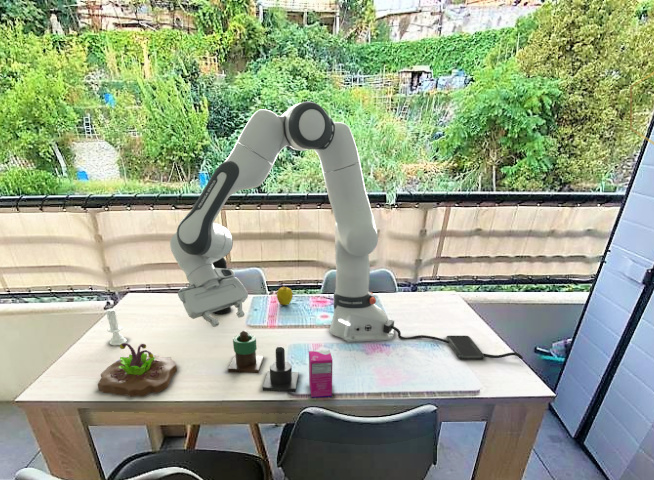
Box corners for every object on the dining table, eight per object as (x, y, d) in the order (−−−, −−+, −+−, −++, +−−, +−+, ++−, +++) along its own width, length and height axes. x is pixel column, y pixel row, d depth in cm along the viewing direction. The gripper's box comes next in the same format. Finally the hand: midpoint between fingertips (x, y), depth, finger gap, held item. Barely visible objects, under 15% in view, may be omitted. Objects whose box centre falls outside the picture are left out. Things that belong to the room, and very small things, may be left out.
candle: (120, 346, 136) (112, 311, 130) (106, 344, 137) (97, 310, 131) (130, 339, 141) (122, 305, 135) (115, 338, 142) (107, 304, 136)
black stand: (298, 375, 120) (298, 340, 114) (295, 392, 113) (294, 355, 107) (268, 374, 121) (266, 338, 115) (262, 391, 113) (260, 353, 107)
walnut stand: (263, 359, 129) (262, 325, 123) (258, 373, 121) (256, 338, 115) (235, 357, 130) (232, 324, 124) (228, 372, 122) (224, 336, 116)
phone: (459, 356, 128) (445, 335, 141) (459, 359, 129) (445, 338, 142) (485, 356, 128) (468, 335, 141) (484, 359, 129) (468, 338, 142)
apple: (286, 308, 165) (286, 289, 161) (274, 305, 168) (273, 286, 164) (296, 304, 170) (295, 285, 166) (283, 301, 173) (282, 282, 169)
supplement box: (308, 387, 115) (308, 350, 109) (329, 386, 115) (330, 349, 110) (310, 398, 110) (310, 360, 104) (332, 397, 110) (334, 359, 105)
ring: (246, 342, 127) (245, 331, 125) (260, 349, 123) (260, 338, 121) (229, 349, 123) (228, 338, 121) (243, 356, 119) (242, 345, 117)
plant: (120, 360, 128) (111, 327, 122) (183, 361, 127) (177, 328, 122) (88, 396, 111) (76, 359, 105) (161, 398, 110) (153, 361, 104)
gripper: (178, 284, 115) (203, 326, 114) (236, 268, 128) (259, 306, 127) (172, 295, 120) (196, 336, 119) (229, 279, 132) (251, 316, 132)
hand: (229, 321), depth 123 cm, fingers open, 8 cm apart
